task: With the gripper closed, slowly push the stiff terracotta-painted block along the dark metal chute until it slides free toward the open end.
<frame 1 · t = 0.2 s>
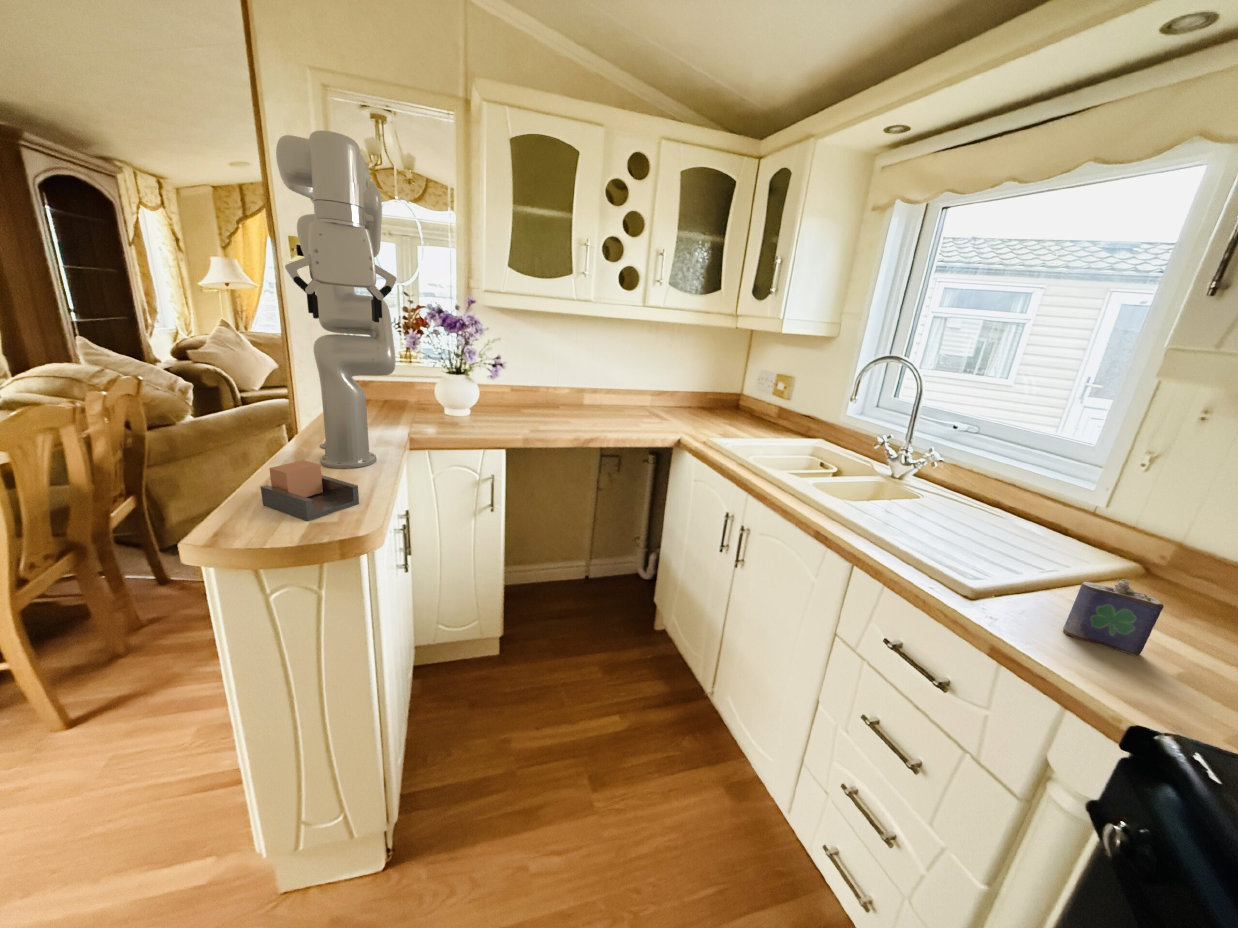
hand: (346, 320, 90), 37 cm above the worktop, tool pointing down, fingers open, 9 cm apart
block: (296, 480, 100), point 4 cm above the worktop, slide at 0.0 cm
chute: (312, 504, 99), on the worktop
flask: (1099, 643, 77), on the worktop
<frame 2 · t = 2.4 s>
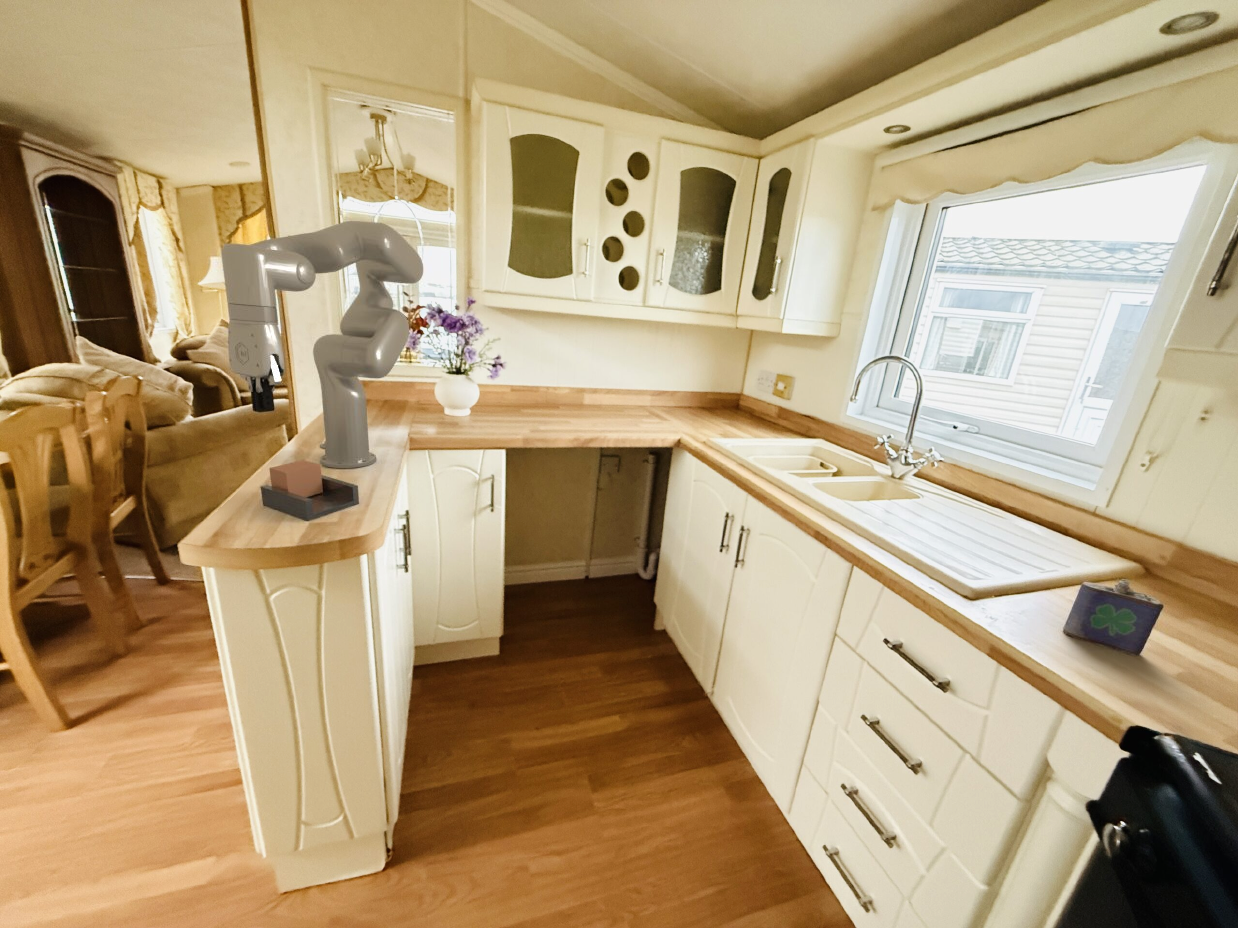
hand: (263, 410, 98), 17 cm above the worktop, tool pointing down, fingers closed
nothing on the worktop moved.
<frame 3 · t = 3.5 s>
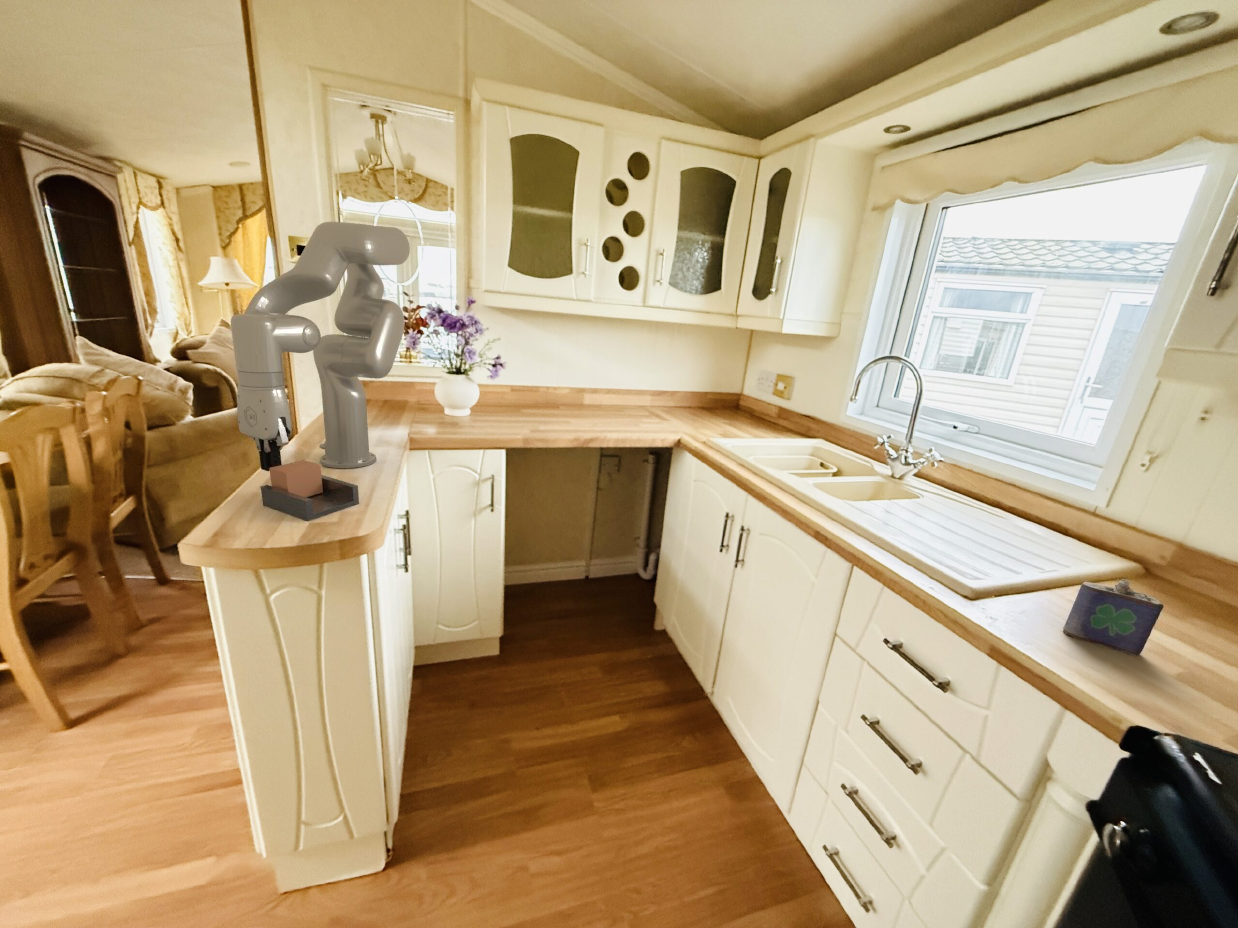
hand: (271, 468, 102), 5 cm above the worktop, tool pointing down, fingers closed
nothing on the worktop moved.
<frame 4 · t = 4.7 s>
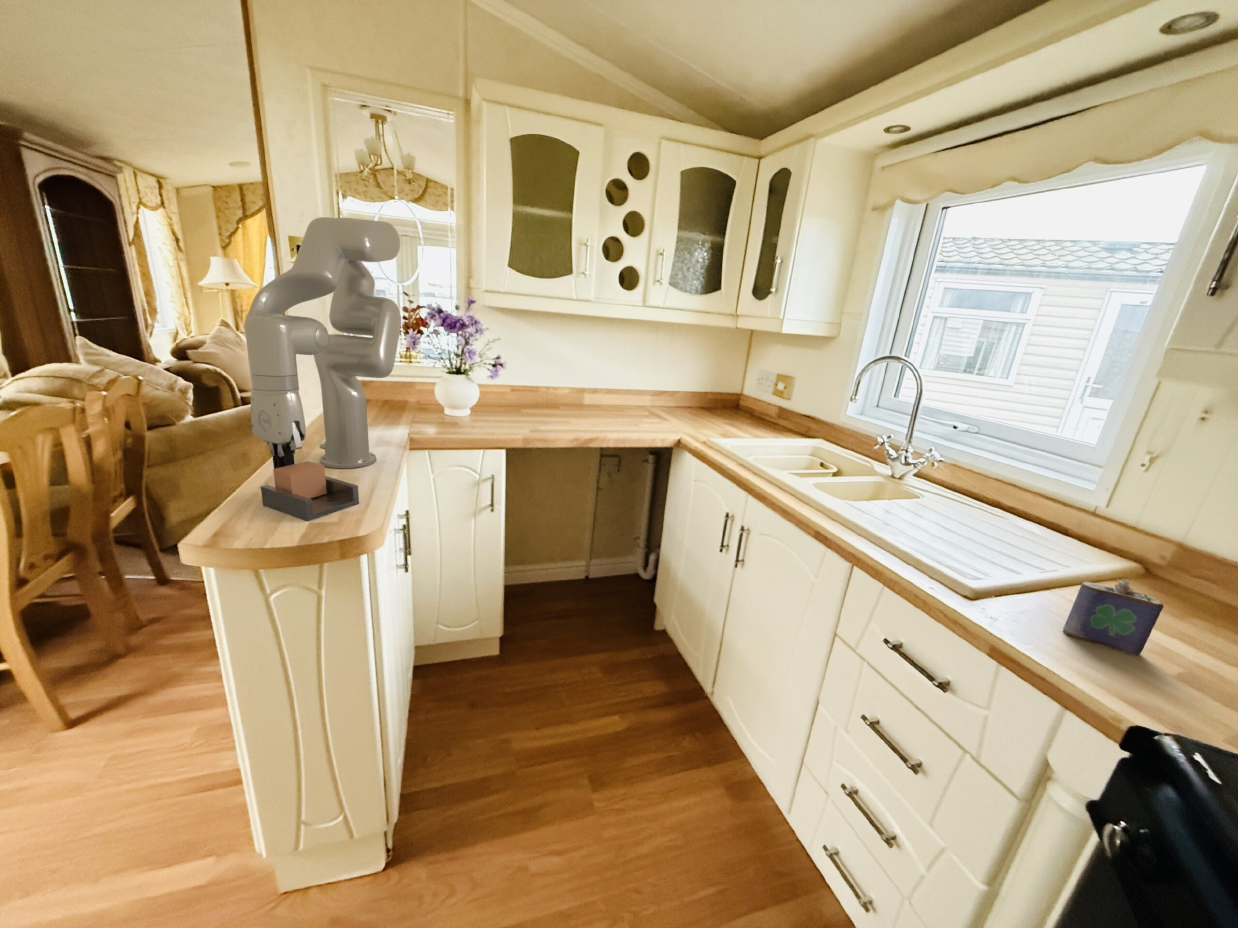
hand: (285, 473, 101), 5 cm above the worktop, tool pointing down, fingers closed
block: (300, 481, 99), point 4 cm above the worktop, slide at 1.2 cm, touching gripper
everything else where it was.
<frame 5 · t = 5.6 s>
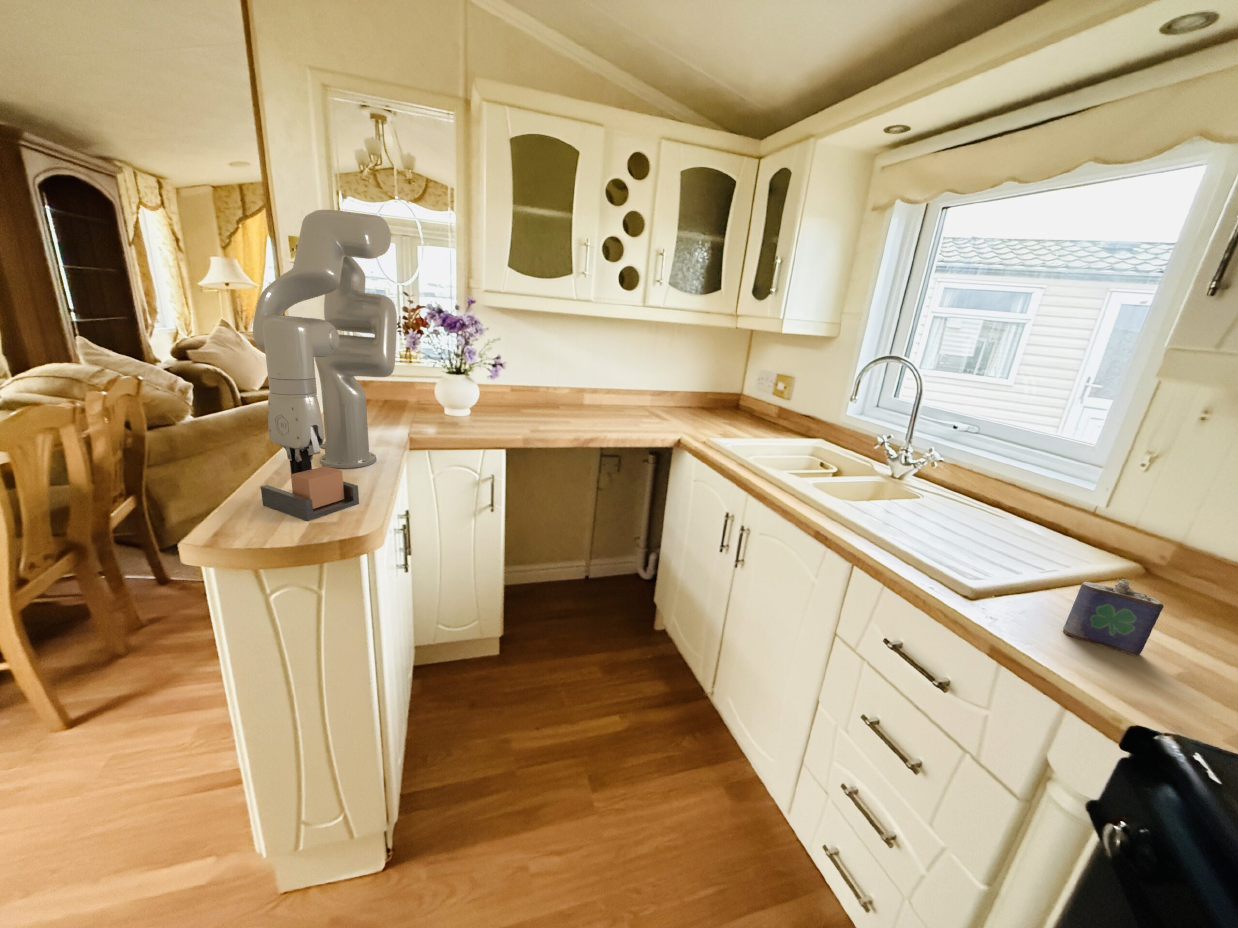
hand: (302, 478, 99), 5 cm above the worktop, tool pointing down, fingers closed
block: (318, 487, 97), point 4 cm above the worktop, slide at 6.3 cm, touching gripper
everything else where it was.
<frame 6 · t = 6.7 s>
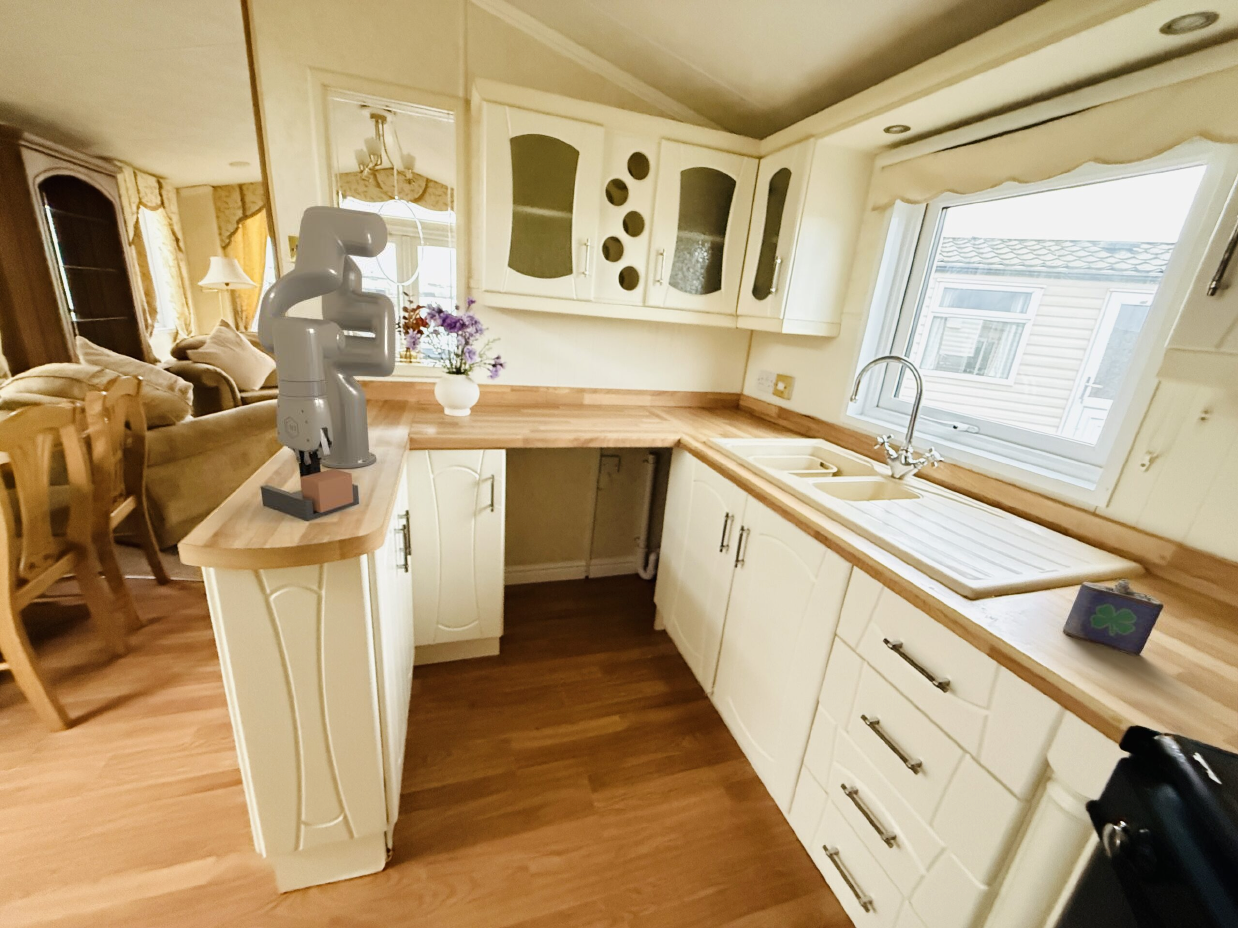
hand: (311, 481, 98), 5 cm above the worktop, tool pointing down, fingers closed
block: (327, 489, 96), point 4 cm above the worktop, slide at 9.0 cm, touching gripper
everything else where it was.
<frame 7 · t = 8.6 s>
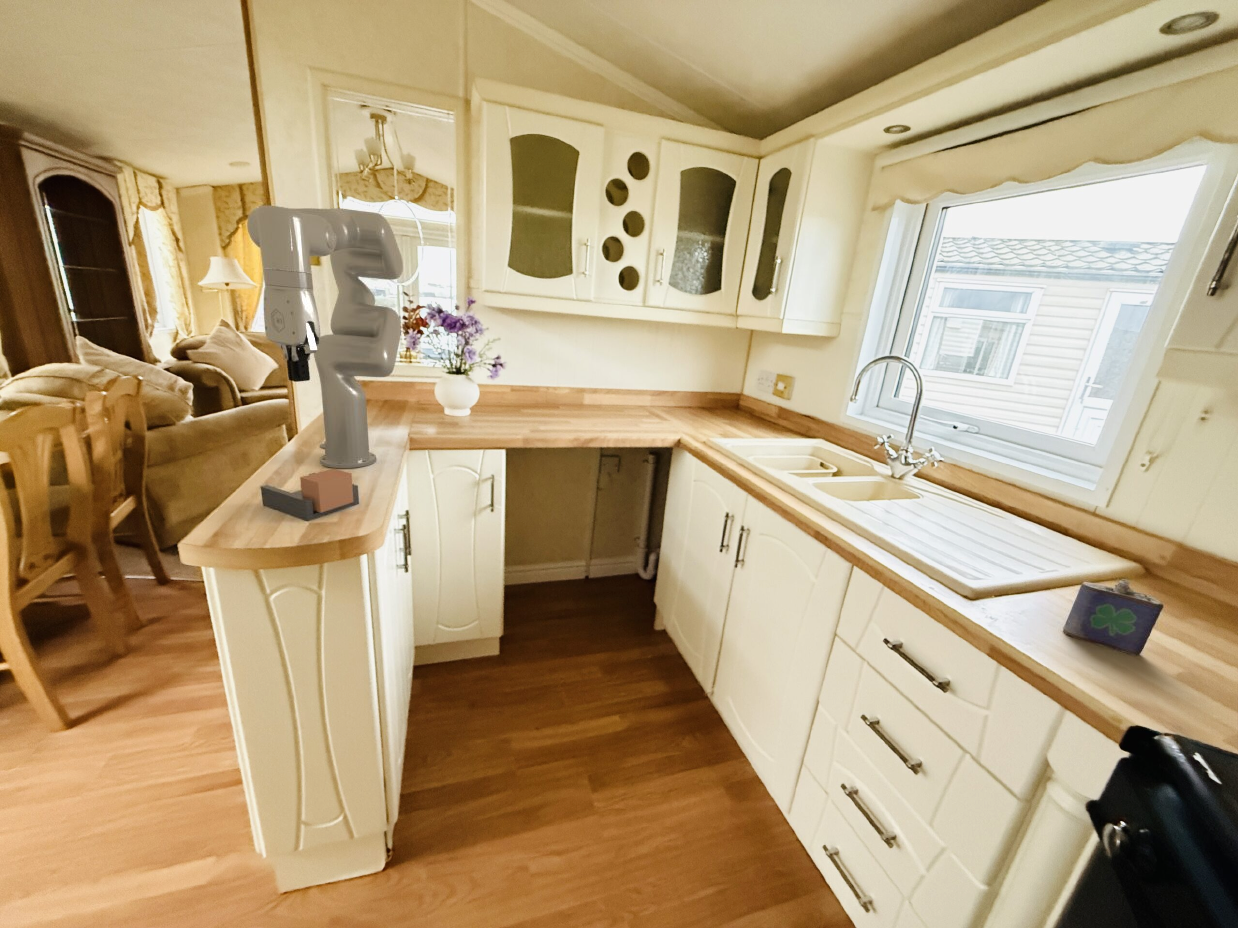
hand: (299, 380, 97), 24 cm above the worktop, tool pointing down, fingers closed
block: (327, 489, 96), point 4 cm above the worktop, slide at 9.0 cm
everything else where it was.
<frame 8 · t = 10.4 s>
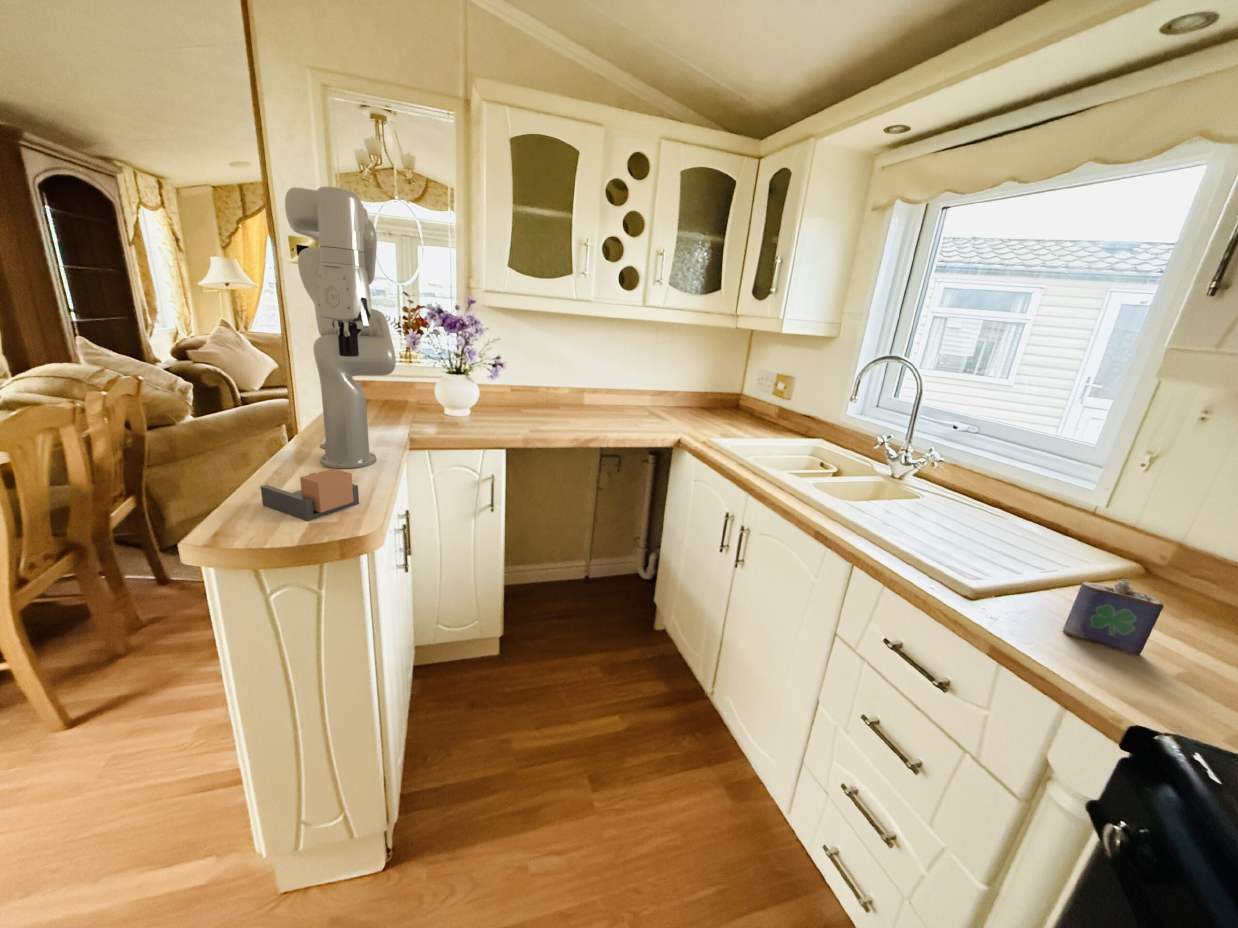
hand: (349, 356, 101), 29 cm above the worktop, tool pointing down, fingers closed
nothing on the worktop moved.
at the end: block slide at 9.0 cm; the gripper is holding nothing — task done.
